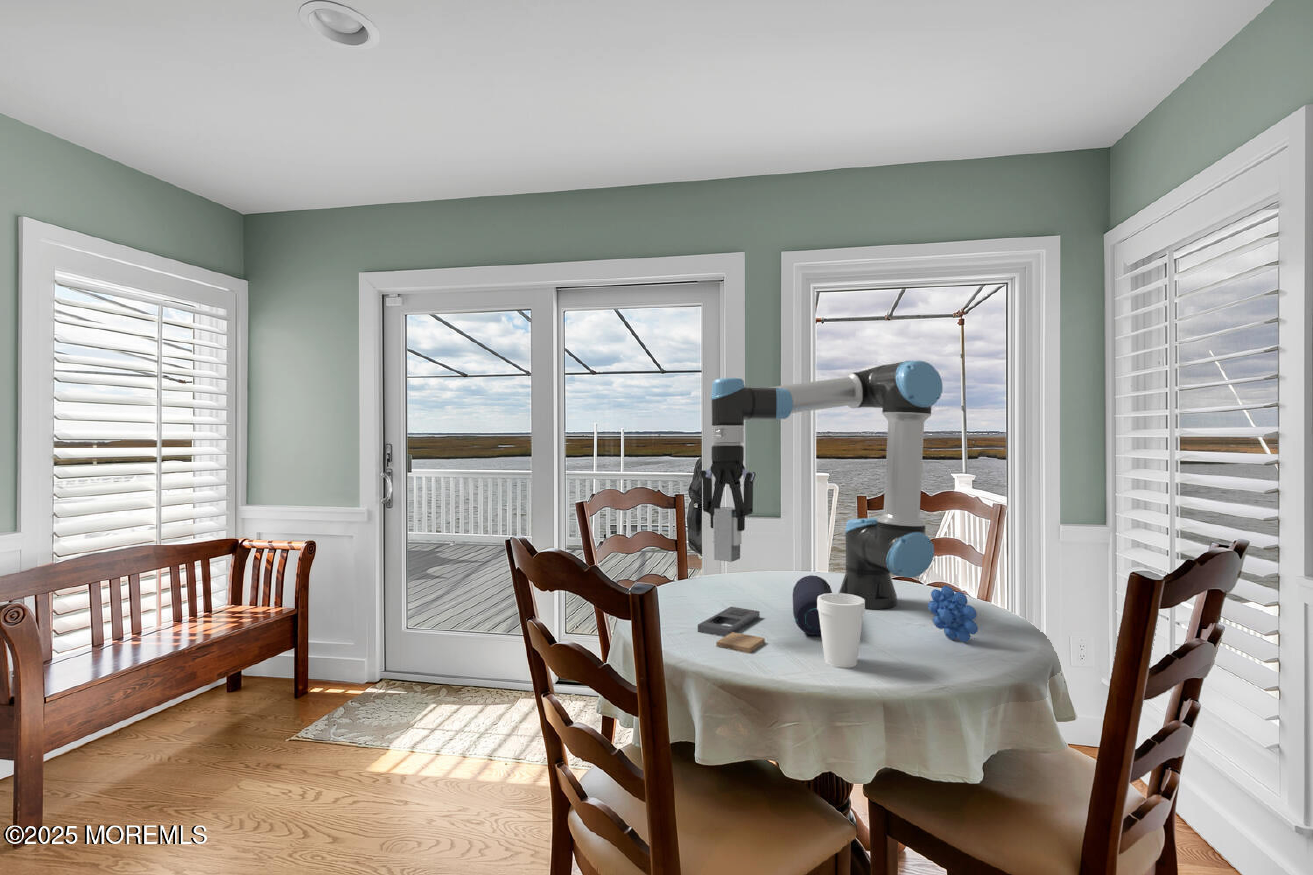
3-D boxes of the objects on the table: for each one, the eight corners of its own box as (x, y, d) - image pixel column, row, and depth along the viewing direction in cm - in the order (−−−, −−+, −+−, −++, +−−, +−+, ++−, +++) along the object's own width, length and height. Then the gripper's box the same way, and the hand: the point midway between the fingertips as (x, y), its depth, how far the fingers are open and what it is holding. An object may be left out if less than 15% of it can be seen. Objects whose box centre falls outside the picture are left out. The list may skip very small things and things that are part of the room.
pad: (764, 642, 146) (764, 637, 146) (749, 652, 139) (749, 648, 139) (732, 636, 150) (732, 631, 150) (716, 646, 143) (716, 641, 143)
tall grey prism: (740, 558, 154) (740, 507, 154) (731, 561, 150) (731, 509, 150) (723, 556, 156) (723, 506, 156) (714, 559, 153) (714, 508, 152)
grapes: (917, 636, 149) (917, 584, 149) (934, 631, 153) (934, 580, 153) (966, 650, 140) (967, 595, 140) (983, 644, 144) (983, 590, 144)
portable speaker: (838, 641, 147) (838, 597, 146) (793, 638, 149) (793, 595, 148) (831, 610, 171) (831, 572, 171) (792, 608, 173) (792, 571, 173)
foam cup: (811, 654, 138) (811, 593, 138) (853, 653, 139) (853, 592, 139) (826, 671, 129) (826, 605, 128) (872, 669, 129) (872, 604, 129)
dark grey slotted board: (759, 617, 165) (759, 610, 165) (728, 637, 150) (728, 629, 150) (730, 612, 169) (730, 606, 169) (697, 631, 154) (697, 624, 154)
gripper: (687, 444, 154) (687, 542, 155) (754, 445, 145) (754, 550, 145) (702, 443, 161) (702, 537, 161) (768, 444, 151) (768, 545, 151)
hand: (727, 543), depth 153 cm, fingers closed on tall grey prism, 4 cm apart
